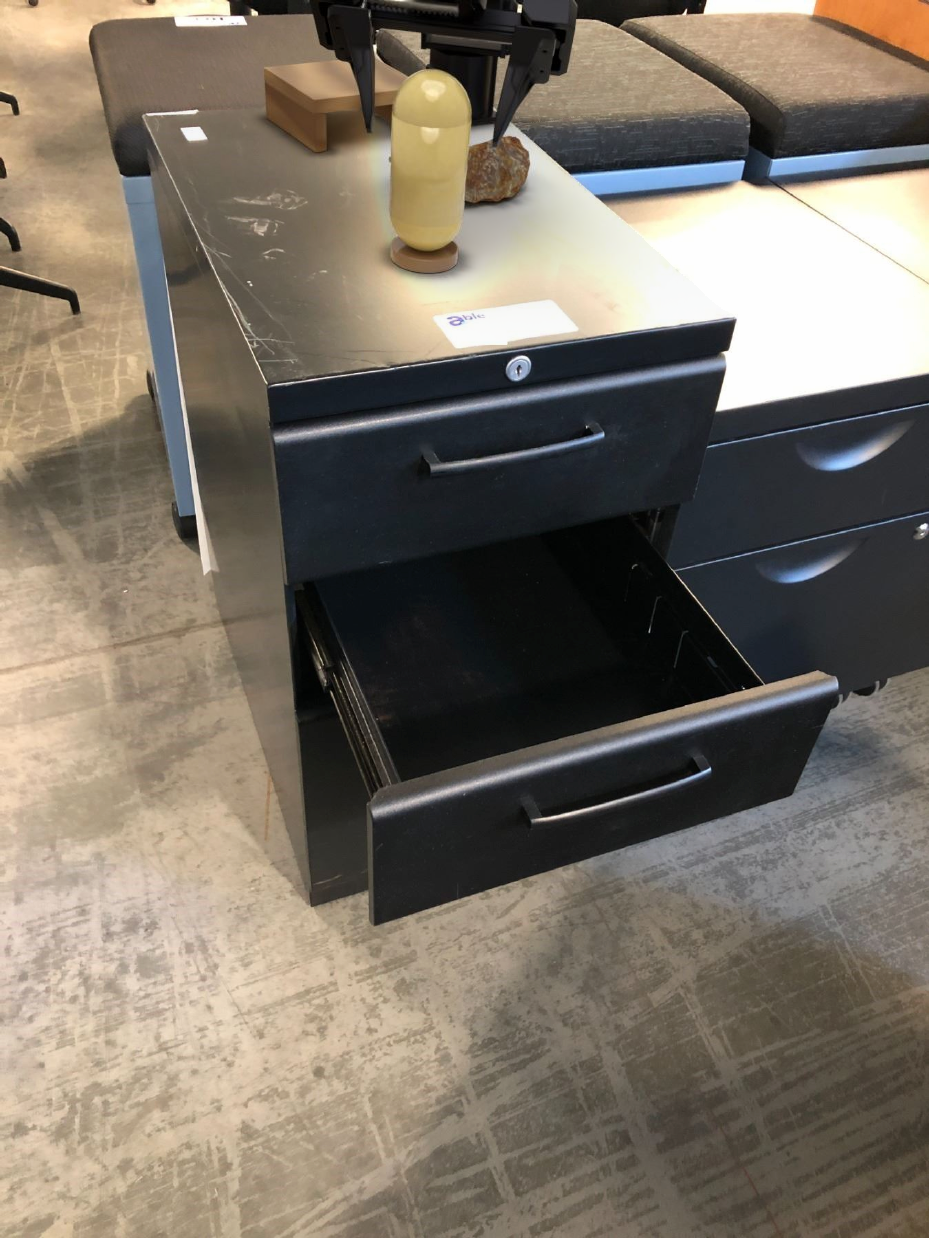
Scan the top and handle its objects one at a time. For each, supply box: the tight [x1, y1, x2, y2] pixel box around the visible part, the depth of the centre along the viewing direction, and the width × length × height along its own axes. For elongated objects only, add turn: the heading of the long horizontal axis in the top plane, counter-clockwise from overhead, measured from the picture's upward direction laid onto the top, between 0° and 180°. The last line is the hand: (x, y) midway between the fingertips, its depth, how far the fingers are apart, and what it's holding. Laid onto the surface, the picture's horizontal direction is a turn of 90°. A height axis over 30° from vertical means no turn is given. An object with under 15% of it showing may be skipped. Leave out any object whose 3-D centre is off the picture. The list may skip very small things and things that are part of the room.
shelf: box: [263, 57, 409, 153], centre depth 93 cm, size 12×10×4 cm
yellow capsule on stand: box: [388, 68, 472, 274], centre depth 71 cm, size 6×6×13 cm
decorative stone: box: [388, 135, 531, 204], centre depth 85 cm, size 10×4×15 cm
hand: (431, 137), depth 70 cm, fingers open, 9 cm apart
